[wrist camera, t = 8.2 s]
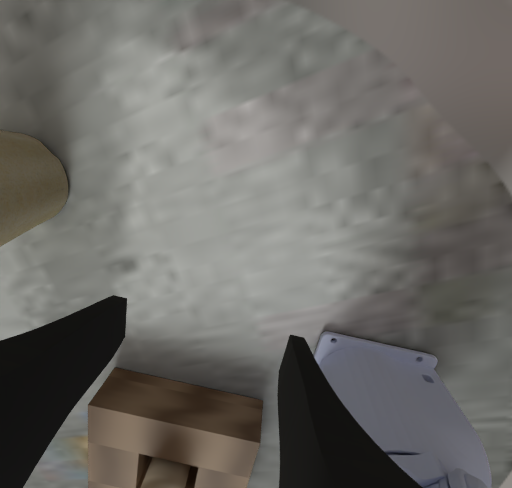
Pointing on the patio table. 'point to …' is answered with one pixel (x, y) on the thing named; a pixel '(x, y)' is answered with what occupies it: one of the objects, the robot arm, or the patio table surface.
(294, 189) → the patio table surface
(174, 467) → the peg
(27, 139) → the flower pot
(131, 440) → the socket block
